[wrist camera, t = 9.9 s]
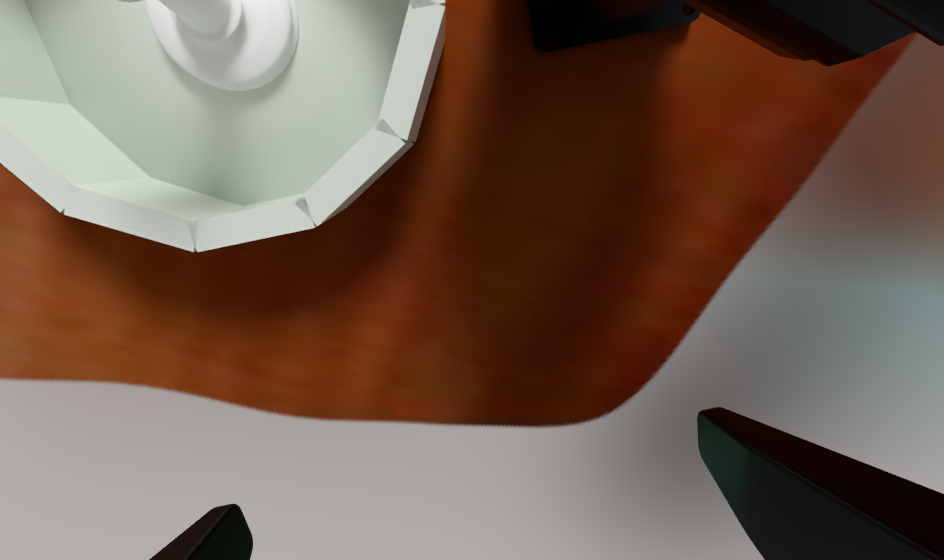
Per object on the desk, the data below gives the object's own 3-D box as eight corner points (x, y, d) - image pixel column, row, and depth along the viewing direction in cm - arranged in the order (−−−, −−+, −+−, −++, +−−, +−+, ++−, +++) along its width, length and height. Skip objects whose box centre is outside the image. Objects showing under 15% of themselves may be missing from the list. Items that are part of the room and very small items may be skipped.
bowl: (383, -283, 14) (356, -467, 10) (472, 182, 19) (481, 193, 14) (-73, -189, 14) (-295, -333, 10) (125, 254, 19) (29, 287, 14)
